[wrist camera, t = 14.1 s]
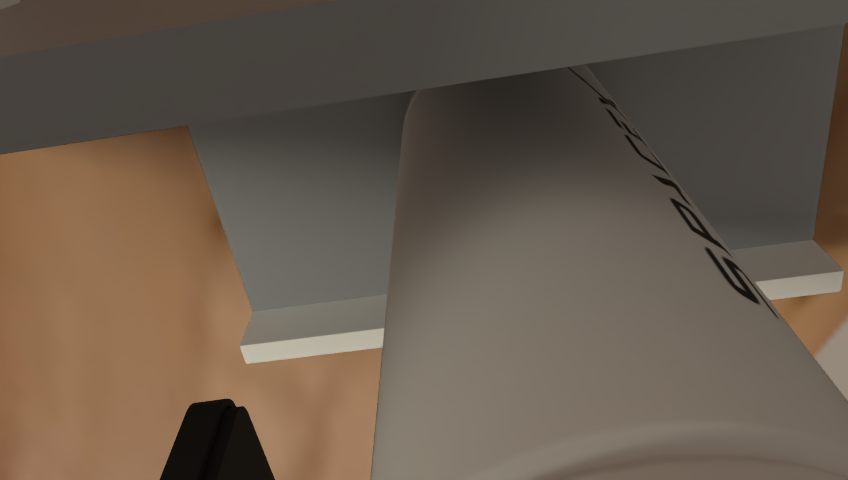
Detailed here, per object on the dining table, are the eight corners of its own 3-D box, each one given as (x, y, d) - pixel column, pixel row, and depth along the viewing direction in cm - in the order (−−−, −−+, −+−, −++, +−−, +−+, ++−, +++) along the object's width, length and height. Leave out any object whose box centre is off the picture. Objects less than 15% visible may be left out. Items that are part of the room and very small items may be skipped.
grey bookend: (271, 304, 27) (144, 669, 15) (155, -47, 21) (-240, 96, 8) (783, 238, 25) (1106, 588, 13) (832, -168, 19) (1559, -206, 7)
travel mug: (444, 246, 23) (493, 1388, 6) (373, 68, 20) (41, 1341, 3) (622, 192, 22) (1327, 1386, 5) (576, -6, 19) (2024, 1304, 2)
